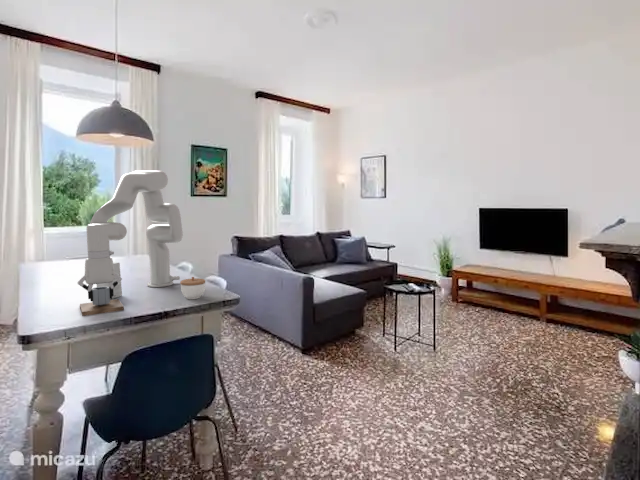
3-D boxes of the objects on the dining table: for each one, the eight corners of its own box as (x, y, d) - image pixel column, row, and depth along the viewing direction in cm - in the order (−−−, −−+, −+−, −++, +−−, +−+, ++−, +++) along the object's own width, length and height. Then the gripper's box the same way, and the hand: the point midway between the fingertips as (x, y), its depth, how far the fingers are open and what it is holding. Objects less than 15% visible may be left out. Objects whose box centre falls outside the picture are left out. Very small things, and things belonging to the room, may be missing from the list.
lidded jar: (175, 299, 167) (174, 278, 166) (191, 293, 177) (191, 274, 176) (195, 301, 164) (194, 280, 163) (210, 295, 174) (210, 275, 173)
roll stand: (118, 302, 161) (117, 287, 160) (123, 310, 150) (123, 294, 149) (79, 307, 153) (79, 291, 152) (82, 316, 141) (81, 299, 141)
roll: (109, 300, 155) (108, 285, 155) (110, 303, 150) (110, 288, 150) (92, 302, 152) (91, 287, 151) (93, 305, 147) (92, 290, 146)
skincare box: (122, 296, 172) (121, 262, 171) (110, 299, 166) (108, 264, 164) (108, 294, 175) (107, 261, 173) (96, 297, 169) (94, 263, 167)
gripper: (121, 252, 157) (123, 294, 159) (72, 255, 147) (75, 300, 149) (124, 254, 151) (126, 298, 153) (73, 257, 141) (76, 304, 143)
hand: (101, 299), depth 151 cm, fingers closed on roll, 5 cm apart
